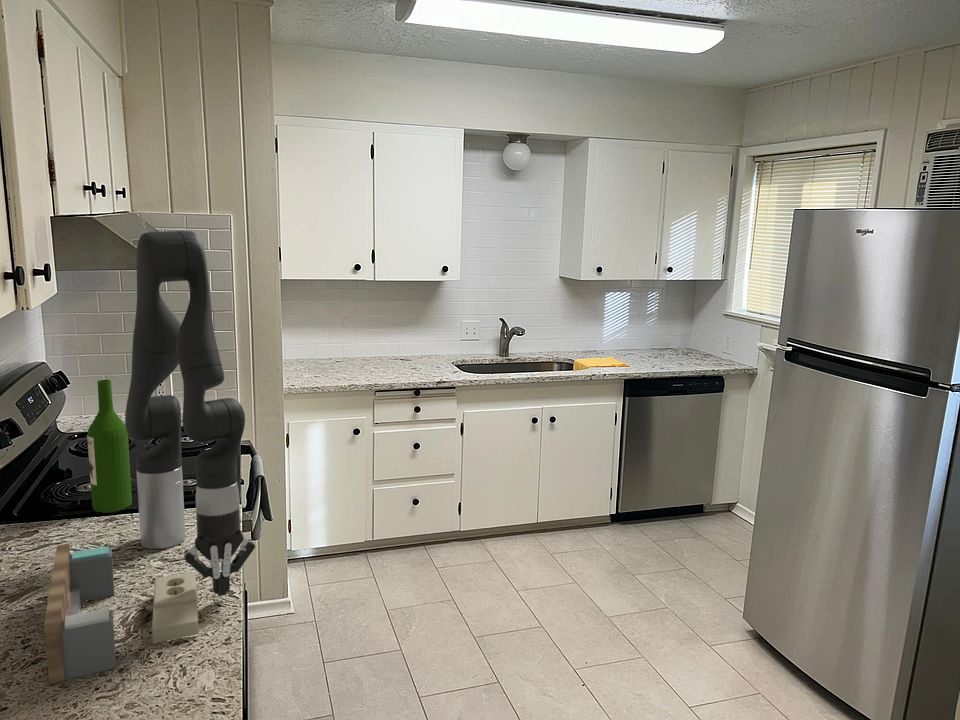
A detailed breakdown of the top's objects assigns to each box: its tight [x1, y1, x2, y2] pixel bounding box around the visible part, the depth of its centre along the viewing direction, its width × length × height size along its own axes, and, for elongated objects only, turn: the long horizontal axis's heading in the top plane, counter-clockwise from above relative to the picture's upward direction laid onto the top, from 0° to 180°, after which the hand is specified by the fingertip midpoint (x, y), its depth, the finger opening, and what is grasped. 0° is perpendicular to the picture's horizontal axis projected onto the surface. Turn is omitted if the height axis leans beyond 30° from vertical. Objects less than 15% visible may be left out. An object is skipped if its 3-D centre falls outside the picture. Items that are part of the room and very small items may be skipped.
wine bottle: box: [86, 379, 133, 514], centre depth 176 cm, size 9×9×32 cm
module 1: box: [69, 545, 115, 602], centre depth 134 cm, size 4×7×9 cm, turn 118°
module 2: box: [61, 607, 117, 681], centre depth 111 cm, size 4×7×9 cm, turn 118°
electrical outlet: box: [151, 571, 200, 644], centre depth 128 cm, size 7×4×18 cm
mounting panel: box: [43, 543, 71, 686], centre depth 120 cm, size 31×2×10 cm, turn 28°
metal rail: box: [68, 584, 82, 616], centre depth 122 cm, size 22×2×4 cm, turn 27°
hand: (221, 593), depth 133 cm, fingers closed
